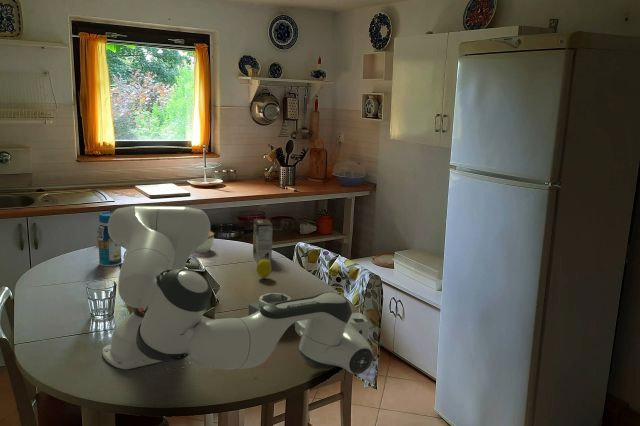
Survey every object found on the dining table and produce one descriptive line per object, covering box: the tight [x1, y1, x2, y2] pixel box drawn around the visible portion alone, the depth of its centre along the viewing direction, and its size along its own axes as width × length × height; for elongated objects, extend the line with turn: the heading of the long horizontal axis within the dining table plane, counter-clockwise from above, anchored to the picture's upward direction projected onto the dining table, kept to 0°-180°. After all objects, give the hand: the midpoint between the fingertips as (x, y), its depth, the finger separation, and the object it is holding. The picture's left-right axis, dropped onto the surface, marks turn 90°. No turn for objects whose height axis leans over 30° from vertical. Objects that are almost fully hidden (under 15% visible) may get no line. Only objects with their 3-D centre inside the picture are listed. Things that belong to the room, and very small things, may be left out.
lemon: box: [256, 258, 272, 280], centre depth 207 cm, size 6×6×8 cm
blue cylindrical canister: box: [97, 211, 123, 267], centre depth 214 cm, size 8×8×20 cm
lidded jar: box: [194, 230, 215, 254], centre depth 236 cm, size 11×11×9 cm
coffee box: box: [252, 218, 274, 264], centre depth 228 cm, size 9×6×16 cm
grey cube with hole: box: [248, 292, 295, 329], centre depth 169 cm, size 12×10×8 cm
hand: (322, 314), depth 164 cm, fingers open, 8 cm apart
